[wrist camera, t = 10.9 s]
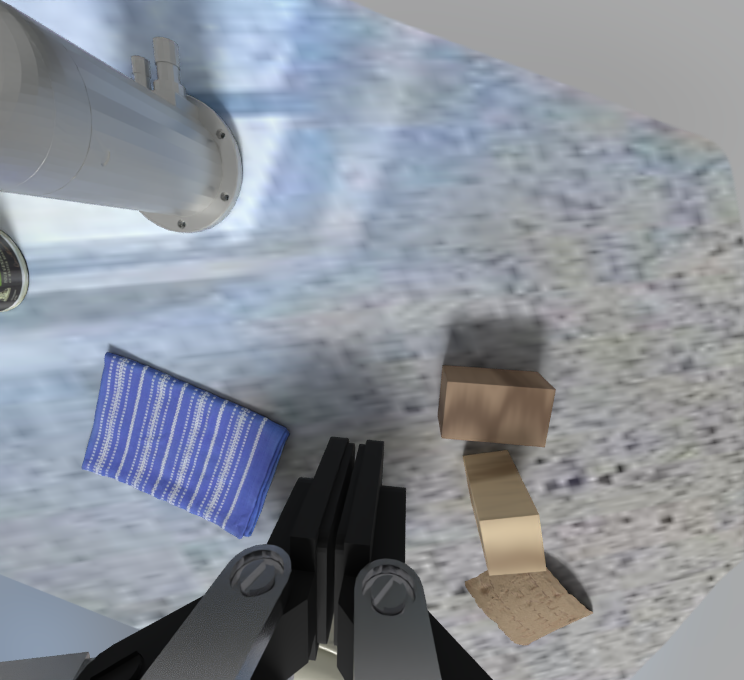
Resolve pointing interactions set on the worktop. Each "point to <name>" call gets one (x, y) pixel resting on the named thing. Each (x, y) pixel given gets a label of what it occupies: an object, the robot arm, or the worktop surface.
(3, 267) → the coffee can
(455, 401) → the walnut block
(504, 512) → the oak block
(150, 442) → the dish towel
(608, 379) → the worktop surface
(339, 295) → the worktop surface
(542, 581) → the clay tablet
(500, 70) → the worktop surface
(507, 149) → the worktop surface
